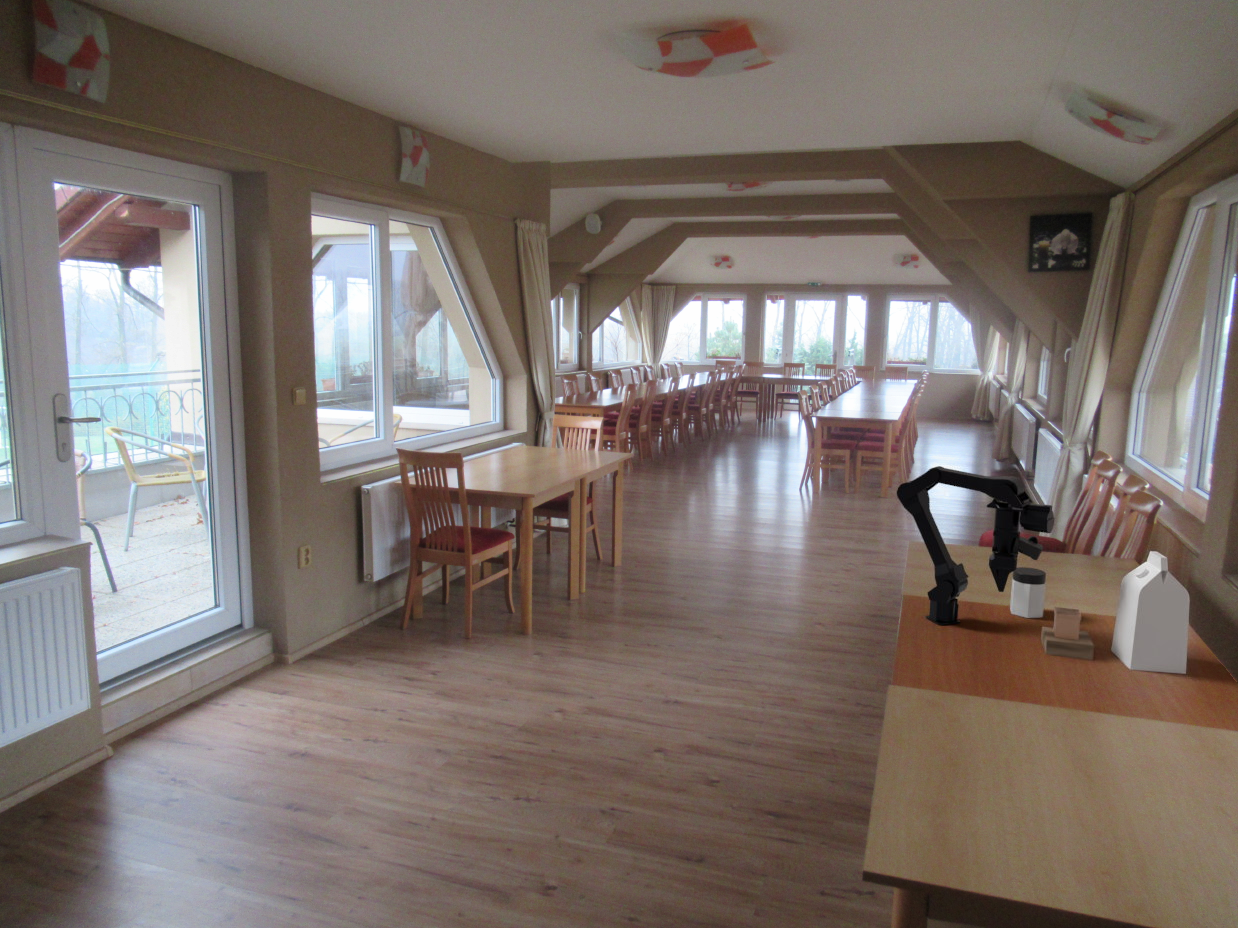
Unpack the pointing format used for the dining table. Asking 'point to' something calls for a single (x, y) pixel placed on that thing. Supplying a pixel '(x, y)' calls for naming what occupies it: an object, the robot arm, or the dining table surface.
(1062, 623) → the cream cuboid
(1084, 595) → the dining table surface
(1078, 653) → the beige block
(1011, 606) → the jar
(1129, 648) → the milk
